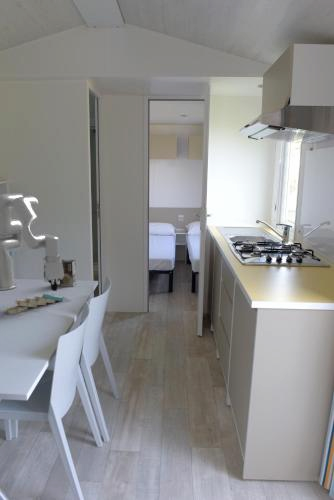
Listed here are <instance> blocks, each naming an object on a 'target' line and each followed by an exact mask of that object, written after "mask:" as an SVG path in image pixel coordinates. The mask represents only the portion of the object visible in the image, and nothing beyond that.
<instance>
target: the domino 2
mask: <svg viewBox="0 0 334 500" xmlns="http://www.w3.org/2000/svg"><path fill="white" fill-rule="evenodd" d="M15 305H16V306H18V305H19V306H27V307H35V308H37V304H30V303H27V302H26V301H25V300H22V299H15Z"/></svg>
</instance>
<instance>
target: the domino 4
mask: <svg viewBox="0 0 334 500" xmlns="http://www.w3.org/2000/svg"><path fill="white" fill-rule="evenodd" d="M33 299H35V300H37V301H40V302H48V303H55V300H50V299H45V298H44V297H42V296H41V295H34V297H33Z"/></svg>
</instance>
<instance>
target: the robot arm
mask: <svg viewBox="0 0 334 500" xmlns="http://www.w3.org/2000/svg"><path fill="white" fill-rule="evenodd" d="M39 205H40V204H39V201H38V199H37V197H35V196H33V195H30V194H26V193H21V192H20V193H17V192H16V193H3V194H0V291H7V290H8V291H9V290H13V289H15V288H17V287H18V284H17V282H15V274H14V273H15V272H14V262H13V258H12V257H13V256H11V255H10V253H11V252H16V251H20V250H21V249H22V248H23V242H25V244H26V245H27V247H28V248H29V249H31V250H33V251H34V250H41V249H44V257H42V260H43V261H44V262H43V263H44V264H43V279H44V280H43V281H44V282H45V283H49V284H50V289H51V291H52V292H57V291H58V283H60V280H61V279H63V277H64V271H63V265H62V261H61V260H62V259H61V258H60V257H61V256H60V255H61V254H60V239H59V236H56V235H52V234H49V233H41V234H36V235H33V233H32V231H31V230H30V229H31V228H30V227H32V226H33V225H35V224H36V222H37V221H38V216H37V214H36V212H35V211H36V210H38V208H39ZM10 209H14V210H15V212H16V213H17V215H18V217H19V219H17V218H12V213H11V211H10ZM23 240H24V241H23Z"/></svg>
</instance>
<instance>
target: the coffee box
mask: <svg viewBox="0 0 334 500" xmlns="http://www.w3.org/2000/svg"><path fill="white" fill-rule="evenodd" d="M60 260H61V261H62V265H63V271H64V277H63V279H61V280H59V286H60V287H75V285H77V273H76V272H77V270H76V266H77V265H76V259H60Z"/></svg>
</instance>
